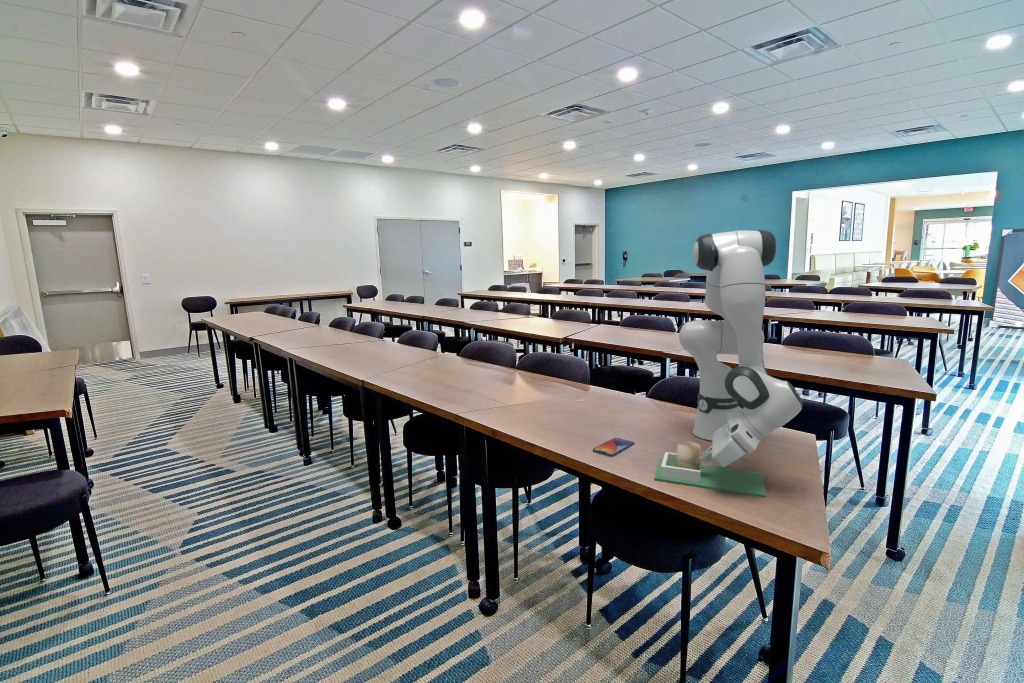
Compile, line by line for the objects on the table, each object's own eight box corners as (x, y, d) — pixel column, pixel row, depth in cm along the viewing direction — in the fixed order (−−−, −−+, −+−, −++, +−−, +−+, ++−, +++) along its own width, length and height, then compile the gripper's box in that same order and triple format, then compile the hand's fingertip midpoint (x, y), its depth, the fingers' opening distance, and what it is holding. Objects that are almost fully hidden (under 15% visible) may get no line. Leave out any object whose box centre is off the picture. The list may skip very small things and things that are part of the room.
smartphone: (635, 445, 161) (635, 442, 161) (612, 458, 150) (612, 455, 150) (615, 440, 166) (615, 437, 166) (591, 452, 155) (591, 449, 154)
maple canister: (688, 467, 141) (689, 440, 140) (703, 475, 135) (705, 447, 134) (671, 470, 139) (672, 443, 137) (686, 479, 133) (688, 450, 132)
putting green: (761, 475, 136) (762, 462, 136) (765, 497, 124) (766, 483, 123) (659, 460, 147) (660, 449, 146) (654, 480, 134) (654, 467, 133)
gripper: (734, 409, 140) (695, 438, 145) (736, 433, 121) (692, 465, 126) (750, 426, 139) (711, 455, 144) (755, 452, 120) (710, 484, 125)
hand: (702, 459), depth 135 cm, fingers closed
